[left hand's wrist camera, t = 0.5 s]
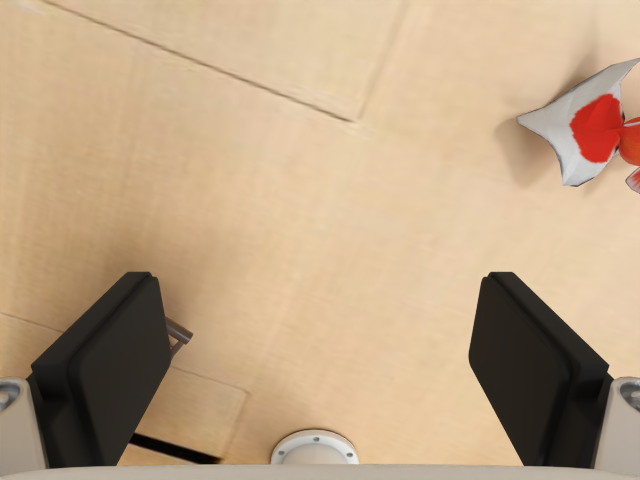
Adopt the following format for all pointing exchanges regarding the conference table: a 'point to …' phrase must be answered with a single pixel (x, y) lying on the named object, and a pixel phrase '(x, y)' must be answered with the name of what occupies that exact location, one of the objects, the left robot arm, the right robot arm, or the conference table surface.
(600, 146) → the fish
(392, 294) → the conference table surface
